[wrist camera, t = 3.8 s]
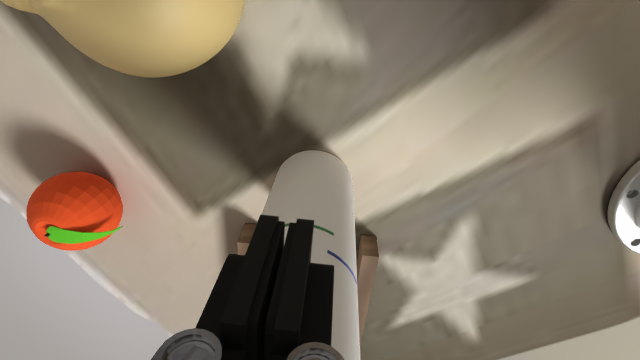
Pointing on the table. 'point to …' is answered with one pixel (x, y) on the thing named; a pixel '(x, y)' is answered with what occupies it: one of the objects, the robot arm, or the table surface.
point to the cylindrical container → (324, 230)
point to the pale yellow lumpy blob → (142, 31)
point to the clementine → (74, 210)
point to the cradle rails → (364, 263)
